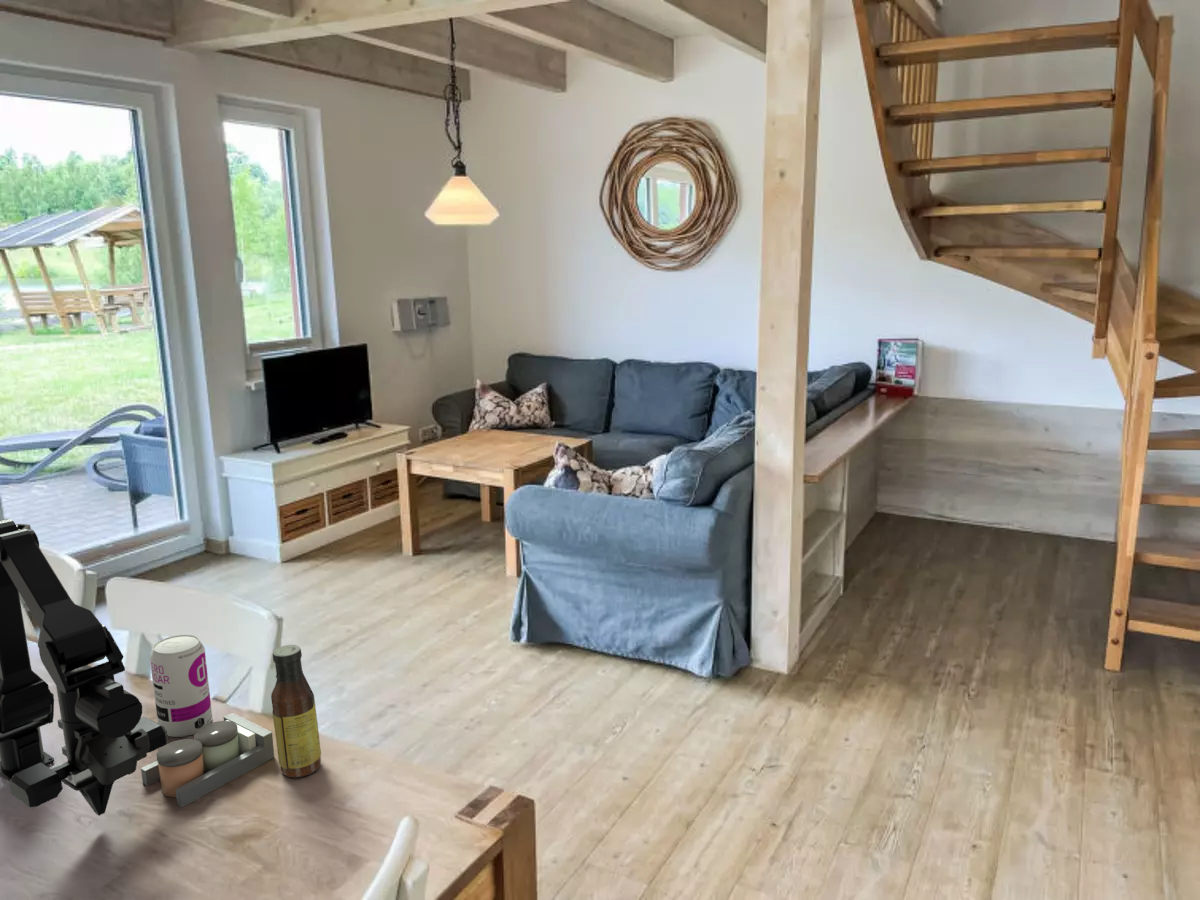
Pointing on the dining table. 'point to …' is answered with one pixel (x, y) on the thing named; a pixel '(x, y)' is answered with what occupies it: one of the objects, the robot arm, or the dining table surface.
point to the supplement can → (181, 684)
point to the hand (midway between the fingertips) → (100, 813)
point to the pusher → (245, 739)
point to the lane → (225, 771)
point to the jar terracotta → (179, 764)
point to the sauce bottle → (294, 715)
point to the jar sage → (218, 743)
